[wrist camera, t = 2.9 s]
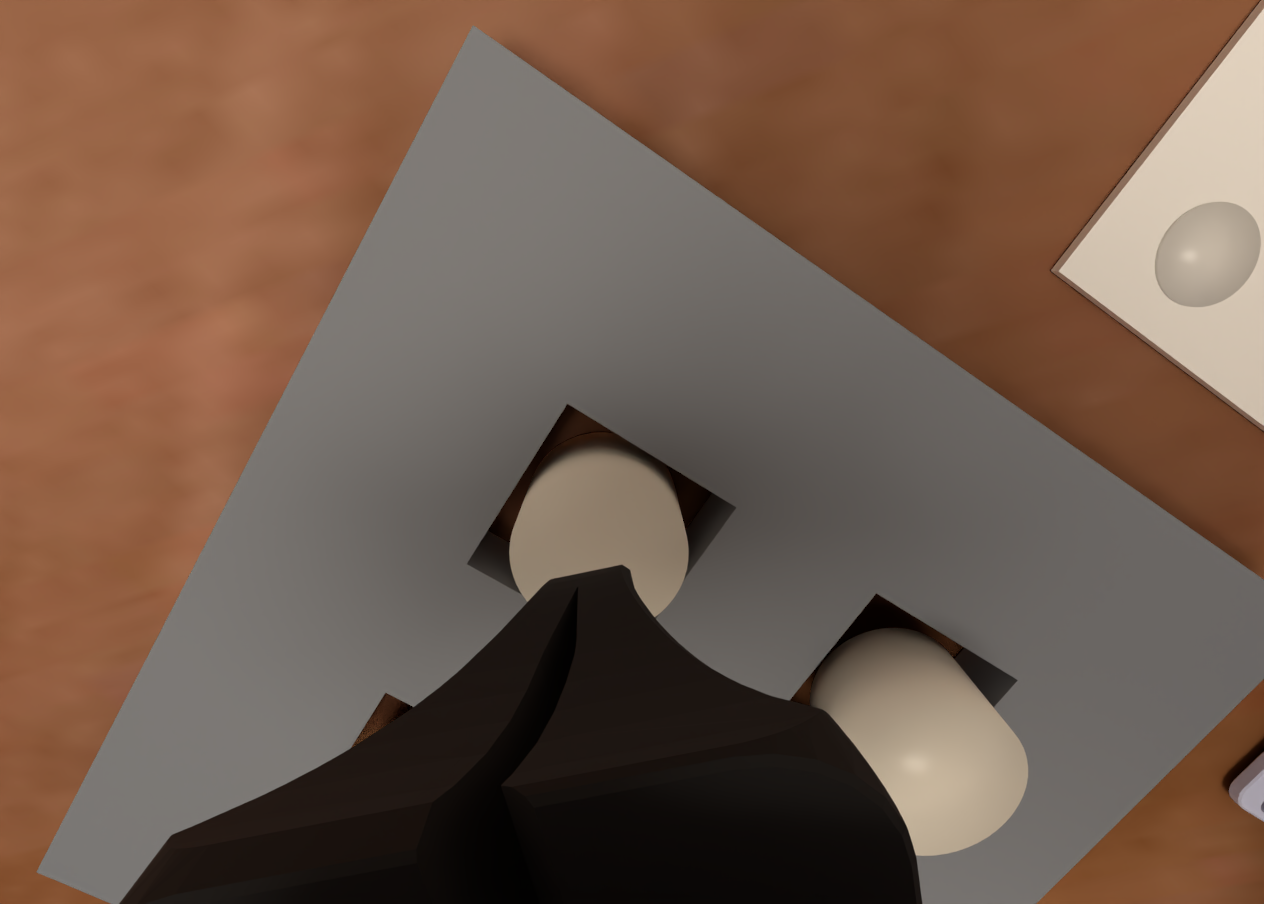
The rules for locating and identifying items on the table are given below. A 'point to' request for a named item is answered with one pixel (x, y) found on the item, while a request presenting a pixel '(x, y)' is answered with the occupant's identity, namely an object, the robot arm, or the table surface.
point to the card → (1192, 232)
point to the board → (684, 440)
